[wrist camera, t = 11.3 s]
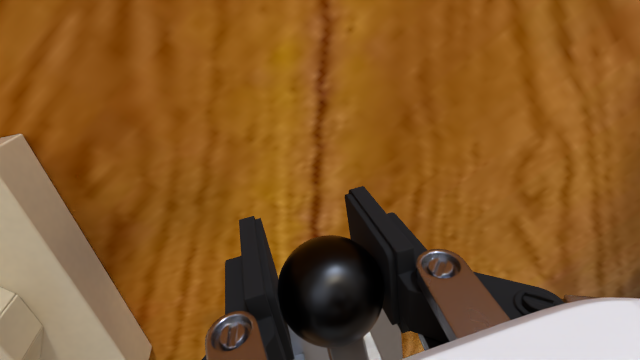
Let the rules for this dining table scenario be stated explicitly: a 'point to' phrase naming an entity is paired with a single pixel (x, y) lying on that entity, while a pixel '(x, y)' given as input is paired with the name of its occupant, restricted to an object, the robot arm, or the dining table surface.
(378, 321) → the bracket
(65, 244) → the button block
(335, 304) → the lever
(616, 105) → the dining table surface
